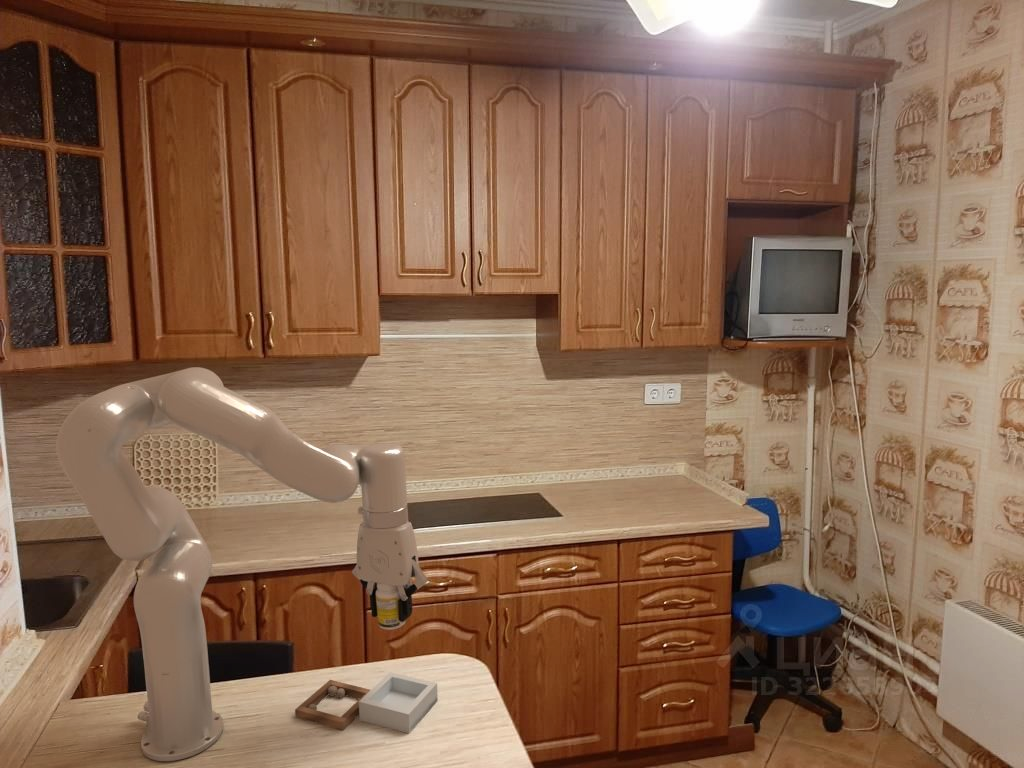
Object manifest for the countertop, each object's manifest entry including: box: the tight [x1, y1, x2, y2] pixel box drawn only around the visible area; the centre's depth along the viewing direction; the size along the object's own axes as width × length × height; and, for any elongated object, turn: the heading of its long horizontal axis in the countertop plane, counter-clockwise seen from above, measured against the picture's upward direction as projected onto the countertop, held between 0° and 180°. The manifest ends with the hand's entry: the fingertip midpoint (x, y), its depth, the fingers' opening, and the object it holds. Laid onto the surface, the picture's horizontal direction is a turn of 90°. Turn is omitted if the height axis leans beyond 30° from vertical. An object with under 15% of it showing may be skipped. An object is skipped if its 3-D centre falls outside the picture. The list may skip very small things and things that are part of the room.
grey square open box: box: [358, 671, 439, 734], centre depth 126 cm, size 10×10×4 cm
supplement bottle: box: [376, 583, 407, 631], centre depth 123 cm, size 5×5×8 cm
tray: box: [294, 679, 371, 731], centre depth 127 cm, size 10×10×2 cm
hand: (391, 614), depth 124 cm, fingers closed on supplement bottle, 4 cm apart
